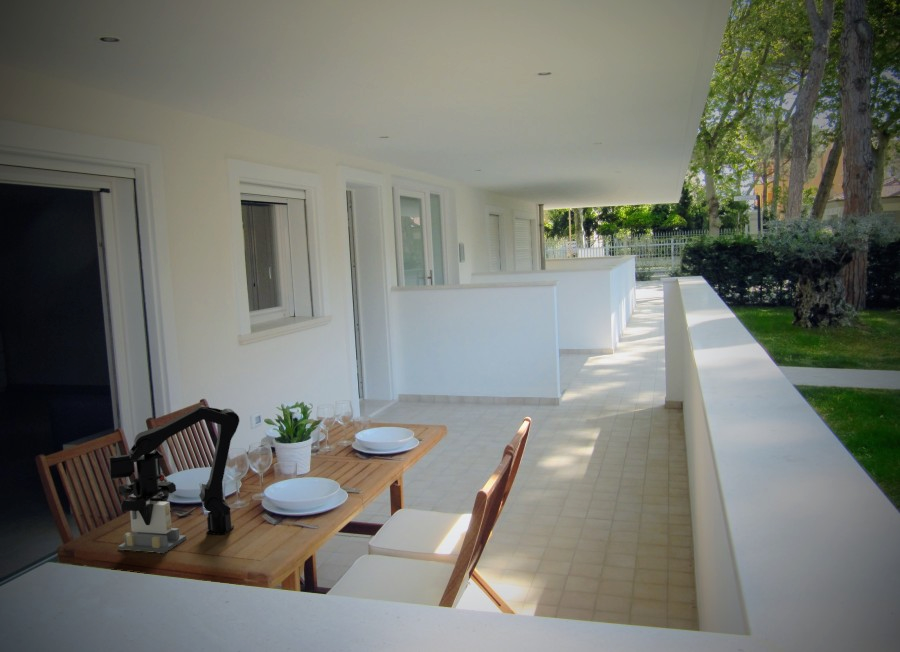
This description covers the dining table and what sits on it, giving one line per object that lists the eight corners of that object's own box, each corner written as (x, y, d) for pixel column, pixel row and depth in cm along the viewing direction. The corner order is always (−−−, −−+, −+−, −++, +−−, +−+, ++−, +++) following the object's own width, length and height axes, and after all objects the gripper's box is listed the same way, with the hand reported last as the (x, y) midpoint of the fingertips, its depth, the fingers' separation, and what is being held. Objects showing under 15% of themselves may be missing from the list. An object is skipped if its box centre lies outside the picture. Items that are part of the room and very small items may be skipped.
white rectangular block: (173, 530, 215) (171, 501, 214) (165, 535, 211) (163, 506, 210) (138, 527, 218) (136, 499, 217) (130, 532, 214) (127, 504, 214)
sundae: (166, 516, 240) (163, 473, 238) (149, 515, 241) (145, 473, 240) (177, 509, 246) (174, 467, 245) (160, 508, 248) (157, 467, 246)
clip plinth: (186, 539, 219) (185, 526, 218) (163, 553, 208) (162, 540, 208) (142, 535, 223) (141, 523, 222) (118, 550, 212) (117, 536, 212)
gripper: (145, 463, 224) (148, 510, 226) (103, 482, 206) (107, 533, 208) (175, 465, 222) (178, 512, 223) (135, 483, 204) (139, 535, 205)
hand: (151, 522), depth 215 cm, fingers closed on white rectangular block, 3 cm apart
